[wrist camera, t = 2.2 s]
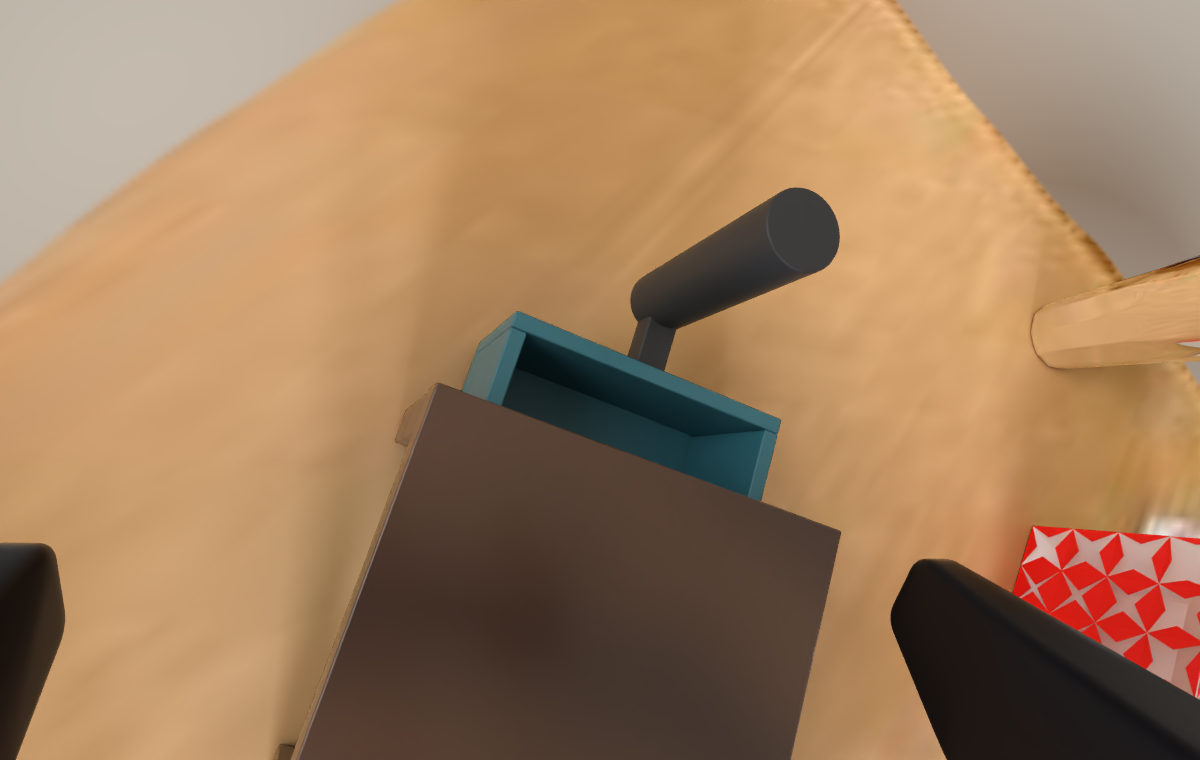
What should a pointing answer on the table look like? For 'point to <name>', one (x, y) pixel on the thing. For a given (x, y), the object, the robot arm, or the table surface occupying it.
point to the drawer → (665, 351)
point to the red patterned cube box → (1122, 594)
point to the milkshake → (1125, 321)
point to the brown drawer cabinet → (567, 606)
